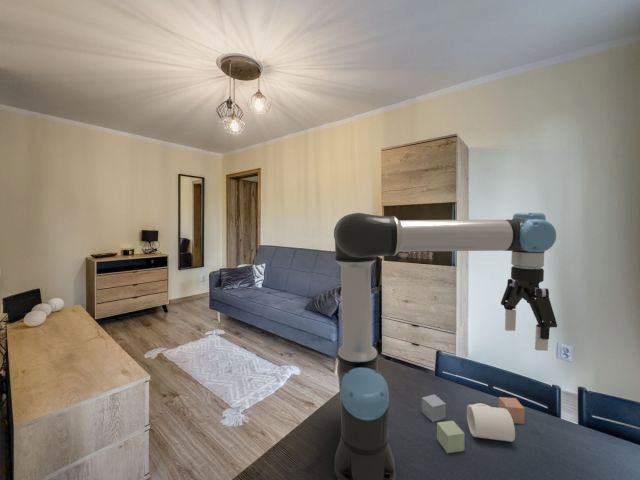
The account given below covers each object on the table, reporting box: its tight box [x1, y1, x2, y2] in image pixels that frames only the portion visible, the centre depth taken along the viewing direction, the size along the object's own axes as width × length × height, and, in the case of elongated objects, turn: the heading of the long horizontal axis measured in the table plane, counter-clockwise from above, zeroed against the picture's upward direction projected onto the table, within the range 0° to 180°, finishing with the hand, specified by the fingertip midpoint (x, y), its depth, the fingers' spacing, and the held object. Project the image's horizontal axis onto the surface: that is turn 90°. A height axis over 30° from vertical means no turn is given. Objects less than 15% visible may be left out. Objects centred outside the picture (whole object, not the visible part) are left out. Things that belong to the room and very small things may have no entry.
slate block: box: [421, 394, 447, 423], centre depth 89 cm, size 5×5×5 cm
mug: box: [466, 402, 516, 443], centre depth 83 cm, size 12×10×8 cm
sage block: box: [436, 420, 466, 454], centre depth 78 cm, size 5×5×5 cm
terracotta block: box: [498, 396, 526, 425], centre depth 88 cm, size 5×5×5 cm
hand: (524, 339), depth 81 cm, fingers open, 13 cm apart
